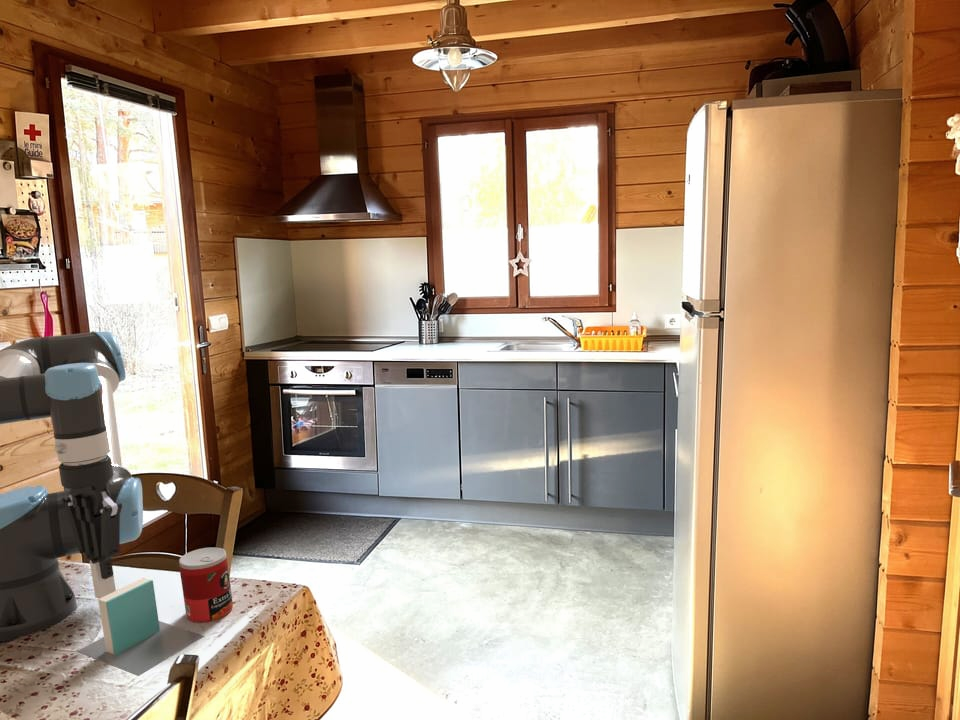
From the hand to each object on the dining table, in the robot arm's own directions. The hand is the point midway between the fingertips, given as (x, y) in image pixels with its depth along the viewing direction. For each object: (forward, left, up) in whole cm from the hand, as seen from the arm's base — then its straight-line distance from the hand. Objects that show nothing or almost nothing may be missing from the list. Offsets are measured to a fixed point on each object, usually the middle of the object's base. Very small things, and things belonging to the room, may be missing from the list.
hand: (105, 594), depth 119 cm
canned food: (+10, +12, -8) cm, 17 cm away
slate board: (+8, 0, -8) cm, 11 cm away
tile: (+6, 0, -7) cm, 9 cm away
